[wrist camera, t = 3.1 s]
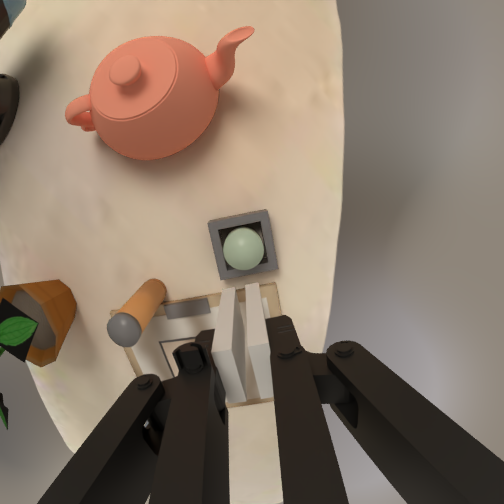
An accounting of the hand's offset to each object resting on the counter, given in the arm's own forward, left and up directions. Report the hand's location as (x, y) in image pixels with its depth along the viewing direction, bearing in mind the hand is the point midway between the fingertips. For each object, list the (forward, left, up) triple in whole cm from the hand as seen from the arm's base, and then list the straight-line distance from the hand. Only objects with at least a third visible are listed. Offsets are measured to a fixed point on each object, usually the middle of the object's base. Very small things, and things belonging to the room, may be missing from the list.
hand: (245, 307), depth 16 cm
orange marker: (-13, -4, -19) cm, 24 cm away
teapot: (-6, +20, -20) cm, 29 cm away
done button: (0, 0, -18) cm, 18 cm away
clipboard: (-9, -16, -19) cm, 27 cm away
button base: (0, 0, -19) cm, 19 cm away
